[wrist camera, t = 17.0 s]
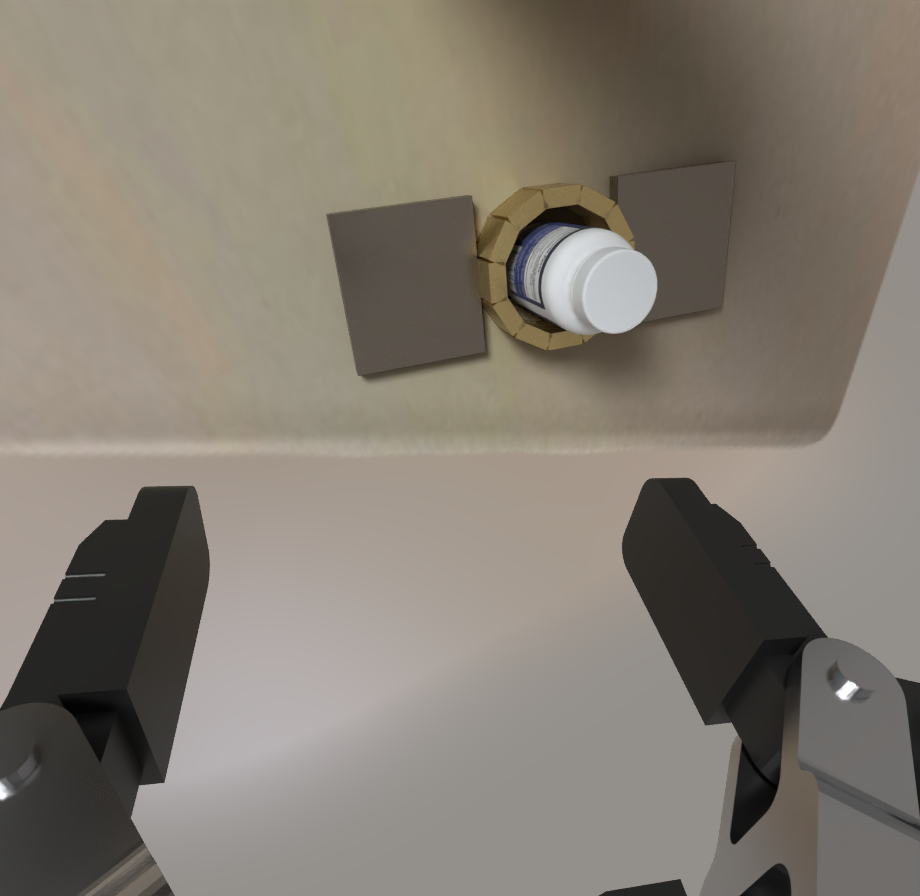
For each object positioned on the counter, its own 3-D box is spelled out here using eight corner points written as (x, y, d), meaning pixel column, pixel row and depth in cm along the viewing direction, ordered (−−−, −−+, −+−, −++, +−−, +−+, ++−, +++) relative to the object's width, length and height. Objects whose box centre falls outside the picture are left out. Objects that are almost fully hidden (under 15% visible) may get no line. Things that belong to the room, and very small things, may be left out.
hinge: (326, 214, 32) (330, 217, 29) (725, 161, 37) (759, 160, 34) (356, 370, 36) (362, 386, 33) (712, 304, 41) (742, 313, 38)
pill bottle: (596, 267, 37) (690, 294, 29) (534, 327, 38) (609, 371, 29) (548, 199, 35) (635, 207, 26) (482, 264, 35) (547, 292, 27)
